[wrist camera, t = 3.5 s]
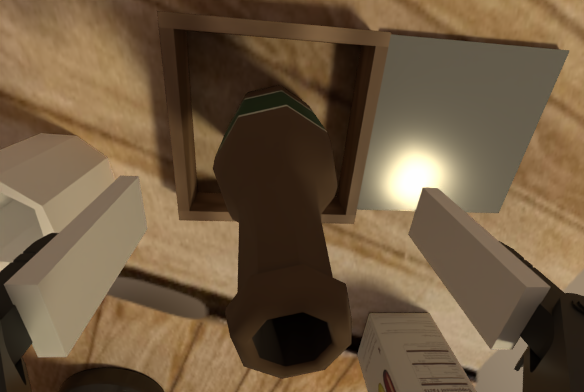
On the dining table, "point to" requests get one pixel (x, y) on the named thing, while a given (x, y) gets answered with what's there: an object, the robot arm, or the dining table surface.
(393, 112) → the slate pad
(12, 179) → the mug
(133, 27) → the dining table surface
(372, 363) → the supplement box
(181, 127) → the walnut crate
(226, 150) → the beer bottle
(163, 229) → the dining table surface
